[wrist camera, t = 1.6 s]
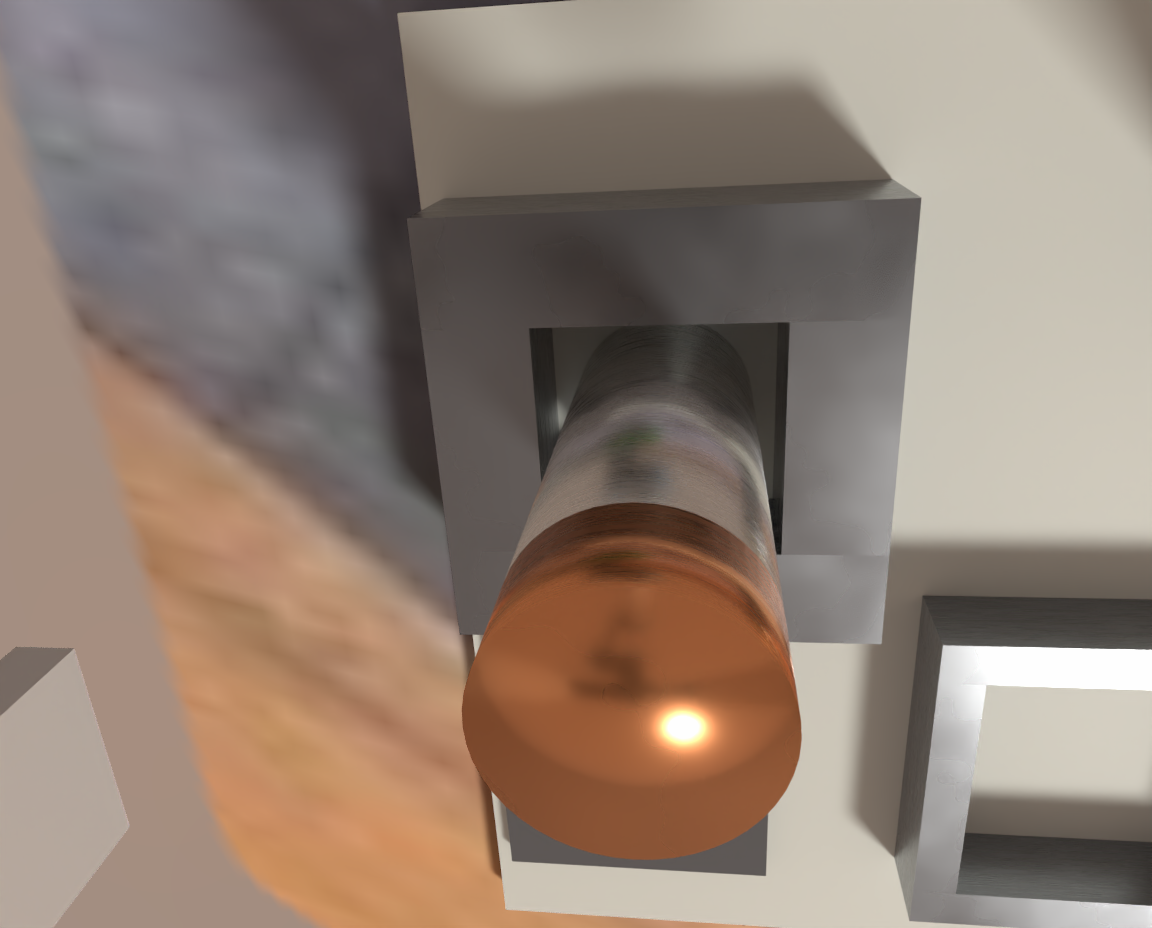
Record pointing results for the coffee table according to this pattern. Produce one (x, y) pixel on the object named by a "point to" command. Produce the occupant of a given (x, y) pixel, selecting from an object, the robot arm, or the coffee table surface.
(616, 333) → the lock pin
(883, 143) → the dock board
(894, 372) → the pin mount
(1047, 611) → the socket
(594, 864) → the pin pad
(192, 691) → the coffee table surface
